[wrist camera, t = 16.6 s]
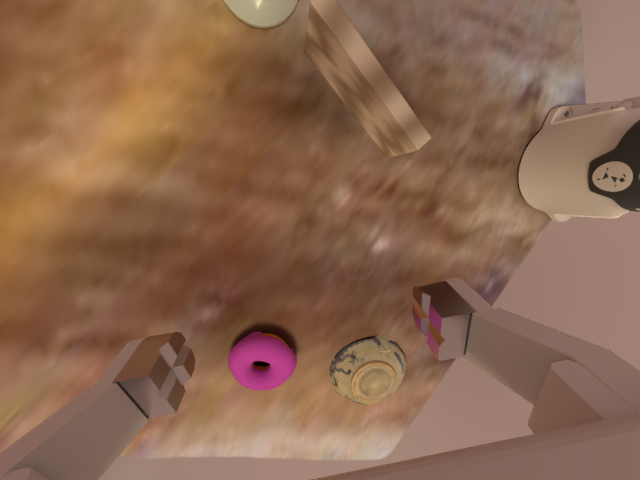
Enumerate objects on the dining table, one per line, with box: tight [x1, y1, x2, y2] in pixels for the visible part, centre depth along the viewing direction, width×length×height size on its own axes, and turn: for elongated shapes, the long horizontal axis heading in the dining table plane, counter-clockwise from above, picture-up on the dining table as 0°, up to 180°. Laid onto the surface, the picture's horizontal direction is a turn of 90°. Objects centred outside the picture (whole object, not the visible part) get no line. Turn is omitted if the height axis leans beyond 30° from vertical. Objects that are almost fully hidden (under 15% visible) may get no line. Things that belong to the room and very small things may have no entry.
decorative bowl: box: [329, 335, 406, 404], centre depth 43 cm, size 15×4×15 cm
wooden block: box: [304, 0, 431, 158], centre depth 29 cm, size 18×2×9 cm, turn 43°
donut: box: [228, 332, 297, 390], centre depth 39 cm, size 10×10×4 cm
